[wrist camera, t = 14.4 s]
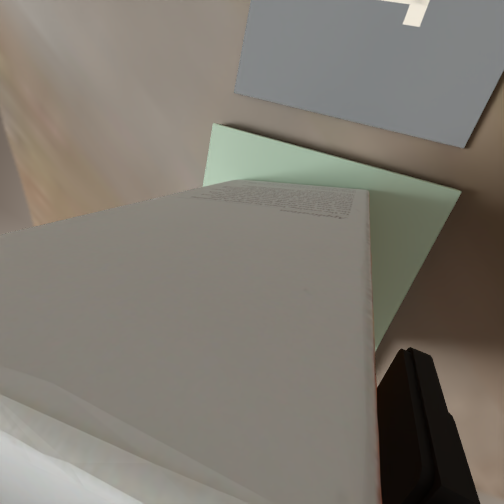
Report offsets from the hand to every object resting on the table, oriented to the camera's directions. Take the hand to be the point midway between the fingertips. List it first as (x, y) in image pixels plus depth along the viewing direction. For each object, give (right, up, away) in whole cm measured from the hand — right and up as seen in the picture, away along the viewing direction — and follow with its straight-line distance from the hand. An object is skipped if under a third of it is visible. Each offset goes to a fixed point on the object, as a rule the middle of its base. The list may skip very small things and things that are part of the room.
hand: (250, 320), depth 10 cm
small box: (+2, +2, +5) cm, 6 cm away
